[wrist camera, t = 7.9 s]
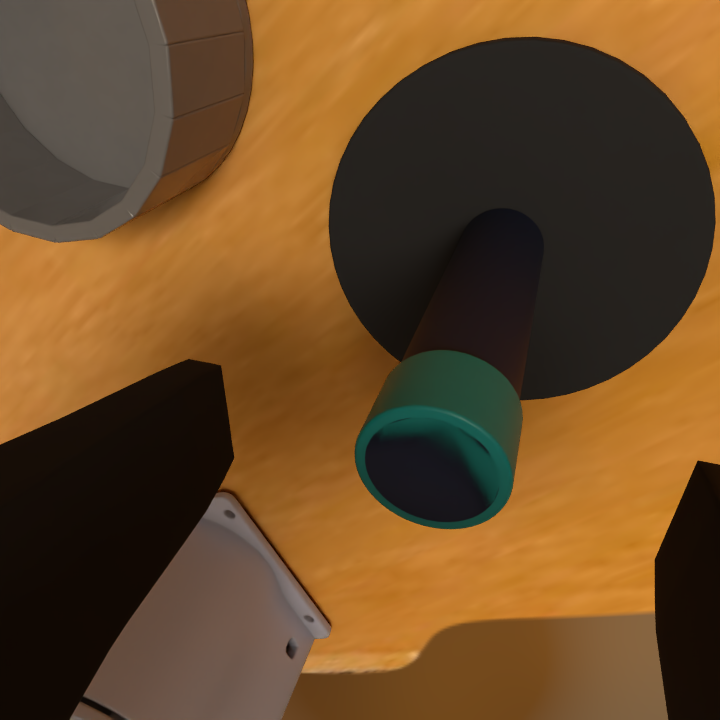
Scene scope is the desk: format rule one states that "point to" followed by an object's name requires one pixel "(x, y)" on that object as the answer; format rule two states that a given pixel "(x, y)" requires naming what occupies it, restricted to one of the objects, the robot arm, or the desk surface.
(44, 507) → the robot arm
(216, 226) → the desk surface
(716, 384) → the desk surface
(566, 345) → the coaster
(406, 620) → the desk surface
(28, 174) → the pot
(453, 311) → the flashlight
